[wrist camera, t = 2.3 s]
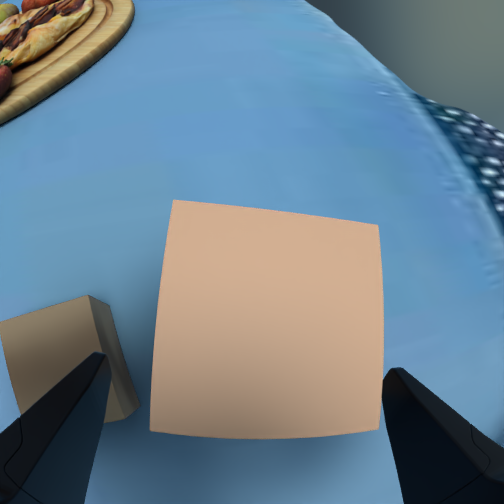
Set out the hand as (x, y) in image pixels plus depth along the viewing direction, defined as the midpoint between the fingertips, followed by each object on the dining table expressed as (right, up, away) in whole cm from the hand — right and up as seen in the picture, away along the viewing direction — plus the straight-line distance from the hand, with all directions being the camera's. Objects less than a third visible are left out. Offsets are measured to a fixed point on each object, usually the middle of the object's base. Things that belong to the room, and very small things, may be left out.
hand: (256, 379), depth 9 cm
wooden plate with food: (-30, +30, +16) cm, 46 cm away
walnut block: (-11, -4, +8) cm, 14 cm away
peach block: (-1, -2, +9) cm, 10 cm away
